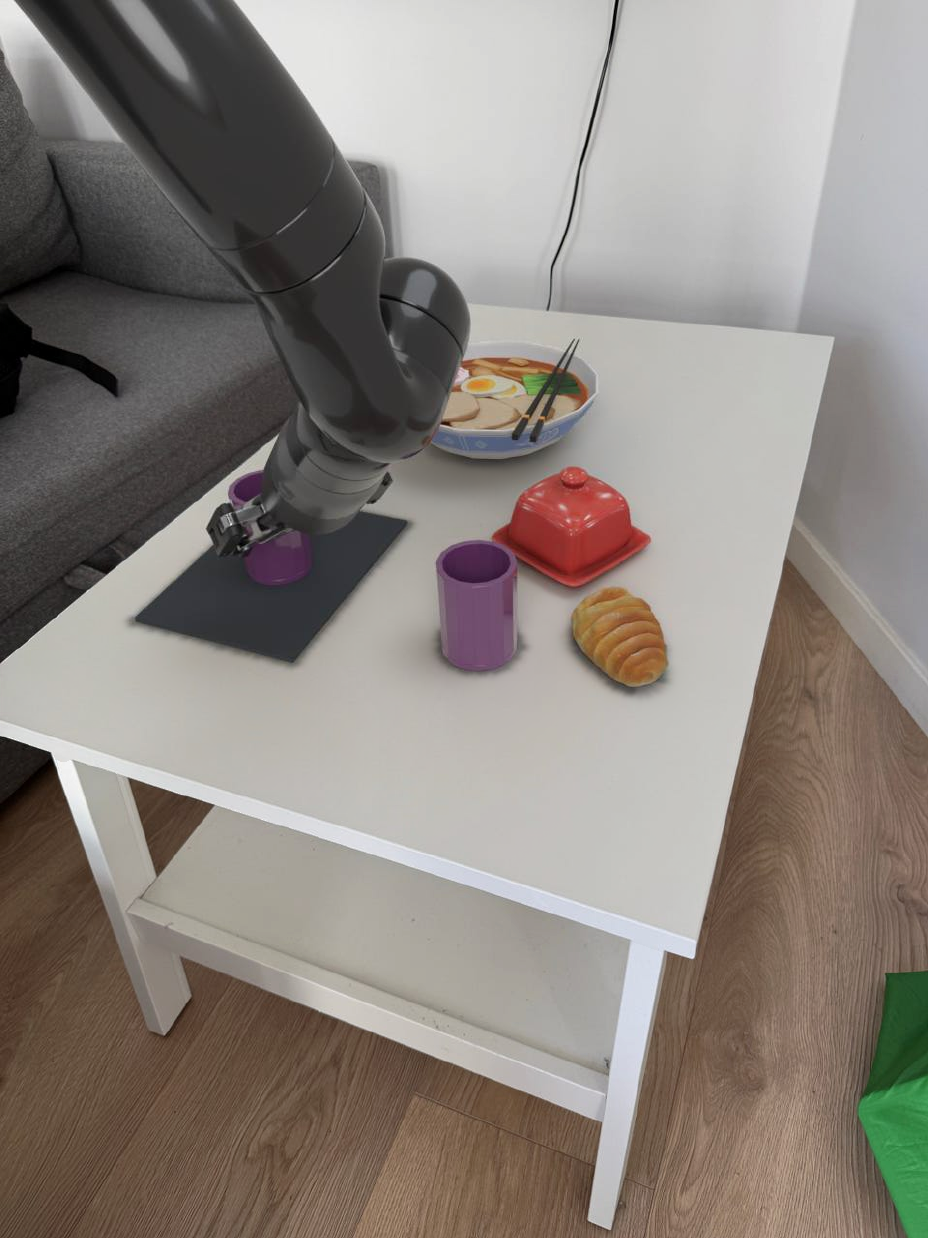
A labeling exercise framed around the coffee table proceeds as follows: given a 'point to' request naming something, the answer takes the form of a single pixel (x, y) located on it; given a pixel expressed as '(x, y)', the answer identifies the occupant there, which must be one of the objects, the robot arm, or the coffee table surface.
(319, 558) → the mat
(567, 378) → the ramen bowl
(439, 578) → the plum cup side
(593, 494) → the butter dish
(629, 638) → the pastry
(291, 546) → the plum cup front
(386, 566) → the coffee table surface
